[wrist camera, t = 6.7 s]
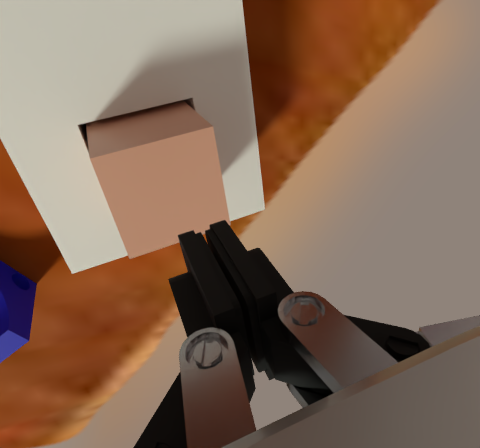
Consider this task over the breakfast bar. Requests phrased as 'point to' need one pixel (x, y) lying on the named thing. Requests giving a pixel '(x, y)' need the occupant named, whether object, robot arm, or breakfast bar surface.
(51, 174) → the block
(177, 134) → the dusty pink cube
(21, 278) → the blue curved piece
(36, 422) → the breakfast bar surface
